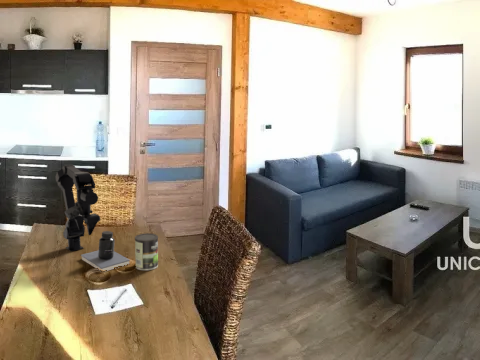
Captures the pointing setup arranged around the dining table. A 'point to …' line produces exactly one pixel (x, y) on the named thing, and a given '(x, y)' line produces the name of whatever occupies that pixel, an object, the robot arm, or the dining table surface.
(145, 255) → the coffee can
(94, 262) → the book
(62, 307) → the dining table surface
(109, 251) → the supplement bottle
